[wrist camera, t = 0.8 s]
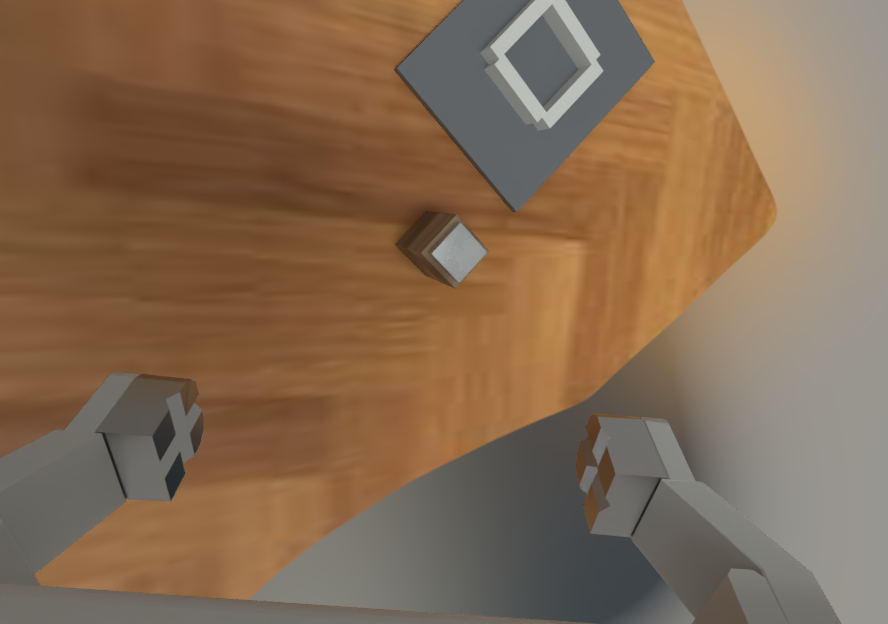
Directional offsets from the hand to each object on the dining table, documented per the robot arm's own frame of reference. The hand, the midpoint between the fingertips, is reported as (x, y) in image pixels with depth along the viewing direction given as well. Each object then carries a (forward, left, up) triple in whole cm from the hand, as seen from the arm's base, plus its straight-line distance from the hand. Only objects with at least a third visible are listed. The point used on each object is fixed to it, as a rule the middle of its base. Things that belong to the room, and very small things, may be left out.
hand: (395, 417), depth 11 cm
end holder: (+5, +27, -35) cm, 45 cm away
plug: (+9, +9, -35) cm, 37 cm away
